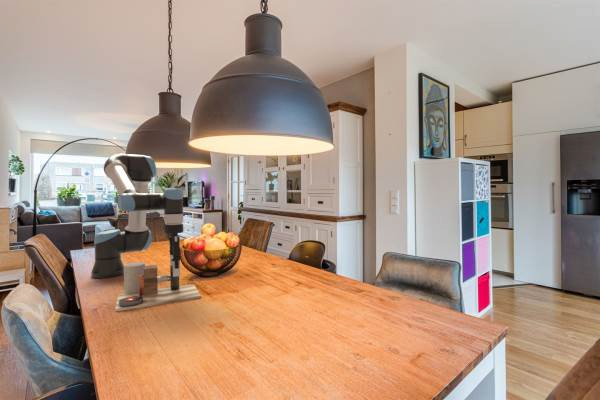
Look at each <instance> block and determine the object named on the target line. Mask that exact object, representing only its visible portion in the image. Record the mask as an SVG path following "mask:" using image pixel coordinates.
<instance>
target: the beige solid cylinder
mask: <svg viewBox="0 0 600 400" xmlns="http://www.w3.org/2000/svg"><path fill="white" fill-rule="evenodd" d="M123 265H124V274H123V288H124V289H123V292H124V293H123V294H126V293H133V292H139V275H144V266H146V262H143V261H142V262H141V261H137V262H129V263H125V264H123Z"/></svg>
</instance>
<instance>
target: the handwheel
mask: <svg viewBox="0 0 600 400" xmlns="http://www.w3.org/2000/svg"><path fill="white" fill-rule="evenodd" d="M141 296H144V275H139V296H132V297H126V298H123V299H121V300H120V301H119V306H122V307H128V306H134V305H138V304H140V303H142V302H143V297H141Z"/></svg>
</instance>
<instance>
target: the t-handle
mask: <svg viewBox="0 0 600 400" xmlns="http://www.w3.org/2000/svg"><path fill="white" fill-rule="evenodd" d="M169 266H170V267H169V269H170V270H169V271H170V273H169V275H161V276H160V275H159V276H157V281H158V283H164V282H170V287H171V290H177V289H179V286H180V276H175V277H173V265H170V264H169Z"/></svg>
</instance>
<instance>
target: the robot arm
mask: <svg viewBox="0 0 600 400" xmlns="http://www.w3.org/2000/svg"><path fill="white" fill-rule="evenodd" d="M103 172H104V174H105V176H106V177H107V178H108V179H109V180H111V182H112V185H114V188H115V189H116V191H117V193H118V195H117V207H118V210H119V211H120V212H128V223H127V225H126V226H125V227H124V231H121V230H120V229H115V228H114V229H108V230H103V231H101V232H100V231H99V232H98V233H96V234H95V235H94V241H93V244H94V264H93V266H92V269H91V272H90V274H91V275H90V276H91V278H93V279H107V278H108V279H109V278H114V277H118V276H122V275H124V265H125V264H124V263H123V261H122V257H121V255H122V254H125V253H127V254H128V253H133V252H141V251H146V250H148V249H149V248H150V247H151V244H152V242H153V241H152V239H153V236H152V231H151V230H150V229H149V227H148V226H147V225H146V224H147V211H164V216H163V217H162V219H164V233H165V234H168V235H169V237H168V241H169V266H170V265H173V277H175V276H179V277H180V276H181V250H180V249H181V248H180V243H181V242H180V240H181V238H180V236H179V234H181V233H184V224H183V223H184V204H183V203H184V196H183V189H182V188H178V187H177V188H175V187H174V188H171V187H170V188H164V190H163V193H162V192H161V193H159V192H157V193H155V192H154V193H149V192H148V191H149V184H150V183H151V182H152V180H153V179H152V178H155V177H156V175H157V165H156V162H155V160H154V158H153V157H152V156H149V155H144V154H130V153H129V154H128V153H127V154H125V153H118V154H113V155H112V156H110V157H108V158H107V160H105V162H104V164H103Z"/></svg>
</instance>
